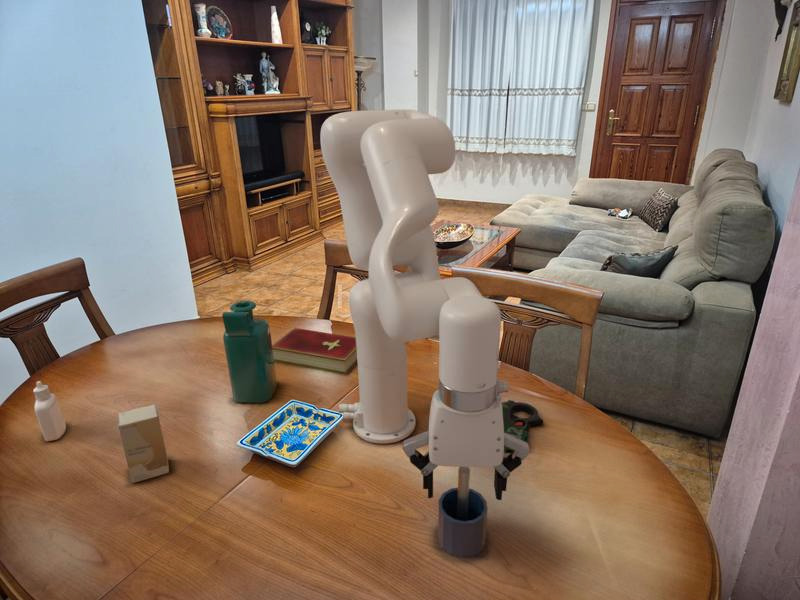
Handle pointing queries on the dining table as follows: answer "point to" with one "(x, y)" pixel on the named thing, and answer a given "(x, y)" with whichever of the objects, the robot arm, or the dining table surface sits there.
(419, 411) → the dining table surface
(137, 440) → the cosmetic box
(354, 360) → the hardcover book
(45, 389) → the eye dropper bottle
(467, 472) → the stylus
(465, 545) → the pen cup
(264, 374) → the green bottle
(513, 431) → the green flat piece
